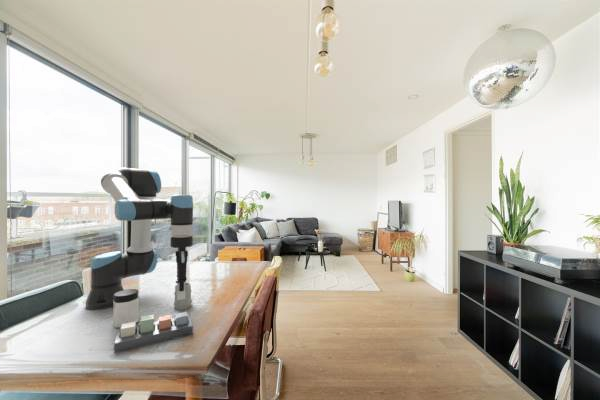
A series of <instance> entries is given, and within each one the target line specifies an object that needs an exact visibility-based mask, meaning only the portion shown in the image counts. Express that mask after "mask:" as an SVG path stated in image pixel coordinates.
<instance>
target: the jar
mask: <svg viewBox="0 0 600 400" xmlns="http://www.w3.org/2000/svg"><path fill="white" fill-rule="evenodd" d="M112 307H113V310H112V311H113V312H112V315H113V316H112V322H113V323H112V324H113V327H114V328H115V329H117V328H118V329H119V328H121V326H122V324H125V323H131V322H136V323H139V322H140V309H139V308H140V297H139V290H138V289H135V288H131V289H128V288H127V289H124V290H122V291H119V292H116V293H115V294H114V300H113V306H112Z"/></svg>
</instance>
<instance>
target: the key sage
mask: <svg viewBox="0 0 600 400" xmlns="http://www.w3.org/2000/svg"><path fill="white" fill-rule="evenodd" d="M154 321H155V314H148V315H143V316H140V319H139V324H140V334H141V333H145V332H150V331H154Z"/></svg>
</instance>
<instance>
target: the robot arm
mask: <svg viewBox="0 0 600 400" xmlns="http://www.w3.org/2000/svg"><path fill="white" fill-rule="evenodd" d="M100 186H101V187H102V189H103V190H104V191H105V192H106V193H107V194H110V196H111V197H112V199H113V201H114V202H115V203H114V215H115V219H116V220H118V221H125V222H131V229H130V231H131V232H130V233H131V234H130V246H129V247H128V248H126V253H122V251H117V250H115V251H109V252H106V253H102V254H98V255H95V256H94V257H92V259H91V261H90V290H89V293H88V296H87V297H86V301H85V309H87V310H100V309H107V308H112V307H113V300H114V294H115V293H116V292H119V291H122V290H125V289H124V287H123V285H122V281H123V280H122V279H124V278H130V277H135V276H141V275H146V274H150V273H152V272H153V271H155V269H156V267H157V264H158V254H157V251H156V250H154V247H153V245H151V238H152V236H151V235H152V222H153V221H152V220H166V219H167V220H170V226H169V227H168V230H169V231H170V236H171V237H170V247H171V248H175V249H177V250H175V261H176V280H175V284H176V285H177V300H181V299H185V283H186V282H187V279H188V277H187V263H188V256H189V251H188V250H187V249H186V248H189V247H192V246H193V245H194V244H193V241H194V240H193V239H194V238H193V234H194V223H193V222H194V221H193V219H194V201H193V199H194V198H193V196H192V195H191V194H190V195H189V194H172V195H171V196H170V199H155V198H156V197H157V194H159V193H161V190H162V180H161V177H160V174H159V173H158V171H156V170H154V169H147V168H146V169H144V168H143V169H142V168H131V167H116V168H112V169H110V170H108V171H106V172H104V174H103V175H102V177H101V180H100Z"/></svg>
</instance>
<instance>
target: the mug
mask: <svg viewBox="0 0 600 400" xmlns="http://www.w3.org/2000/svg"><path fill="white" fill-rule="evenodd" d="M191 287H192V286H191V283H190V282H185V299H181V300H177V284H176V285H175V287H174V289H175V290H174V292H173V294H174V302H173V306H174V309H175V310H184V309H188V308H191V307H192V303H193V300H192V289H191Z"/></svg>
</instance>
